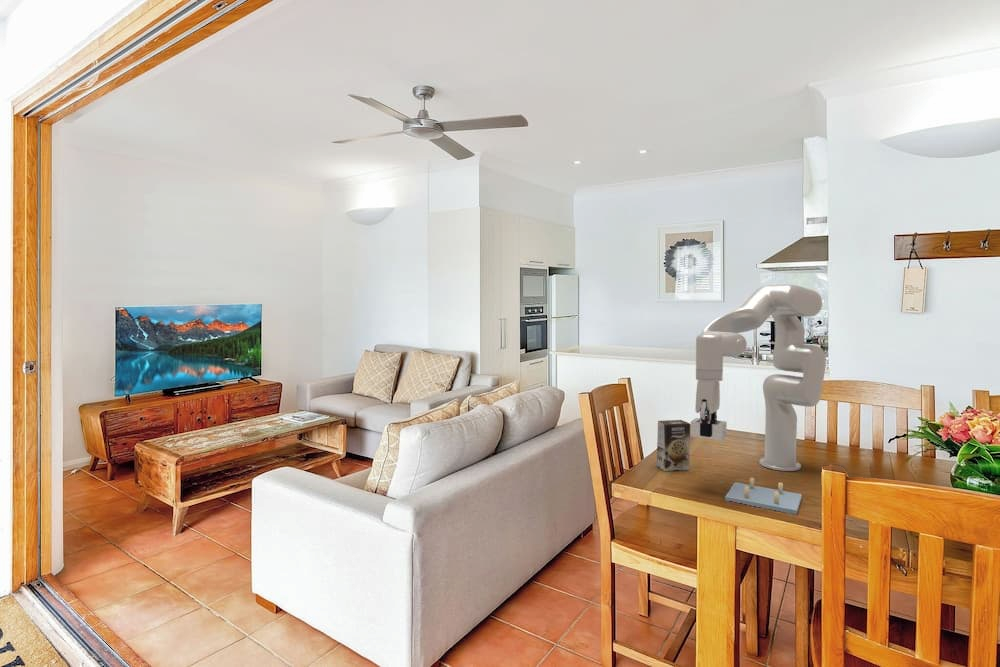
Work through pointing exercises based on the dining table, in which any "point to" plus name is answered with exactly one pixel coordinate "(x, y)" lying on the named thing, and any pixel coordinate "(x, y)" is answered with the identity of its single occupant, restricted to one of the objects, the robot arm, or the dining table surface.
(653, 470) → the dining table surface
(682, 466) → the cookie box
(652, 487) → the dining table surface
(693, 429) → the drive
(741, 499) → the blue pegged holder base
